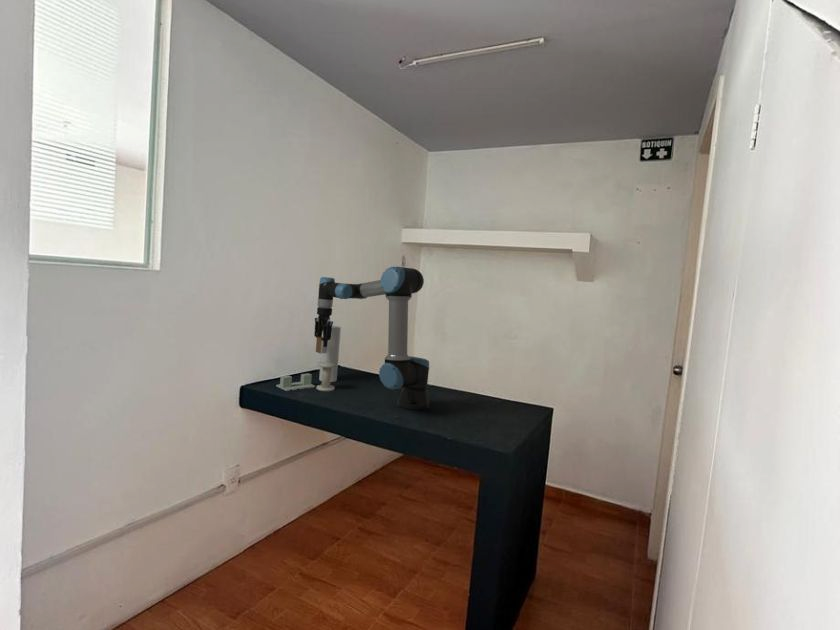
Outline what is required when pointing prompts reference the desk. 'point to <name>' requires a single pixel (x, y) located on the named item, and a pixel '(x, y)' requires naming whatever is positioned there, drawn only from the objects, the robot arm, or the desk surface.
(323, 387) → the bobbin
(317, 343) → the brown wooden block
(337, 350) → the cylinder container
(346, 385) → the desk surface
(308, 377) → the terminal board
